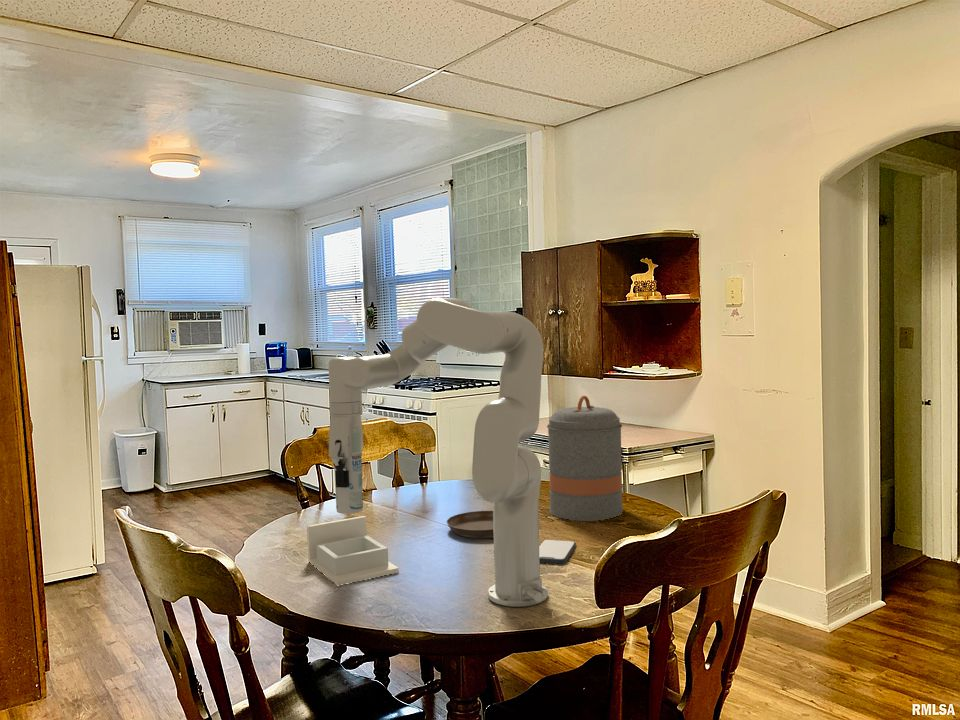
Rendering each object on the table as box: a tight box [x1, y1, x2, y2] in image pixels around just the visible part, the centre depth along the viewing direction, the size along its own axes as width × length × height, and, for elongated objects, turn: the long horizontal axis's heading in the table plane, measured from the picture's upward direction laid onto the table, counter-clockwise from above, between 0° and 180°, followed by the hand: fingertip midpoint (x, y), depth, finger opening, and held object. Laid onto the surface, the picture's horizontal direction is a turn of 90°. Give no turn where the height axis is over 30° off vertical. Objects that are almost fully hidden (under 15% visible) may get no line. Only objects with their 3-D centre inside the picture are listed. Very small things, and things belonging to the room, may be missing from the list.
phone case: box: [539, 539, 577, 565], centre depth 181 cm, size 9×2×16 cm
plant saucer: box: [446, 510, 494, 539], centre depth 203 cm, size 21×21×3 cm
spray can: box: [334, 426, 364, 515], centre depth 173 cm, size 6×6×20 cm
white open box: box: [306, 515, 400, 586], centre depth 174 cm, size 20×15×9 cm
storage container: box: [546, 395, 624, 522], centre depth 219 cm, size 22×22×35 cm
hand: (348, 483), depth 174 cm, fingers closed on spray can, 6 cm apart
